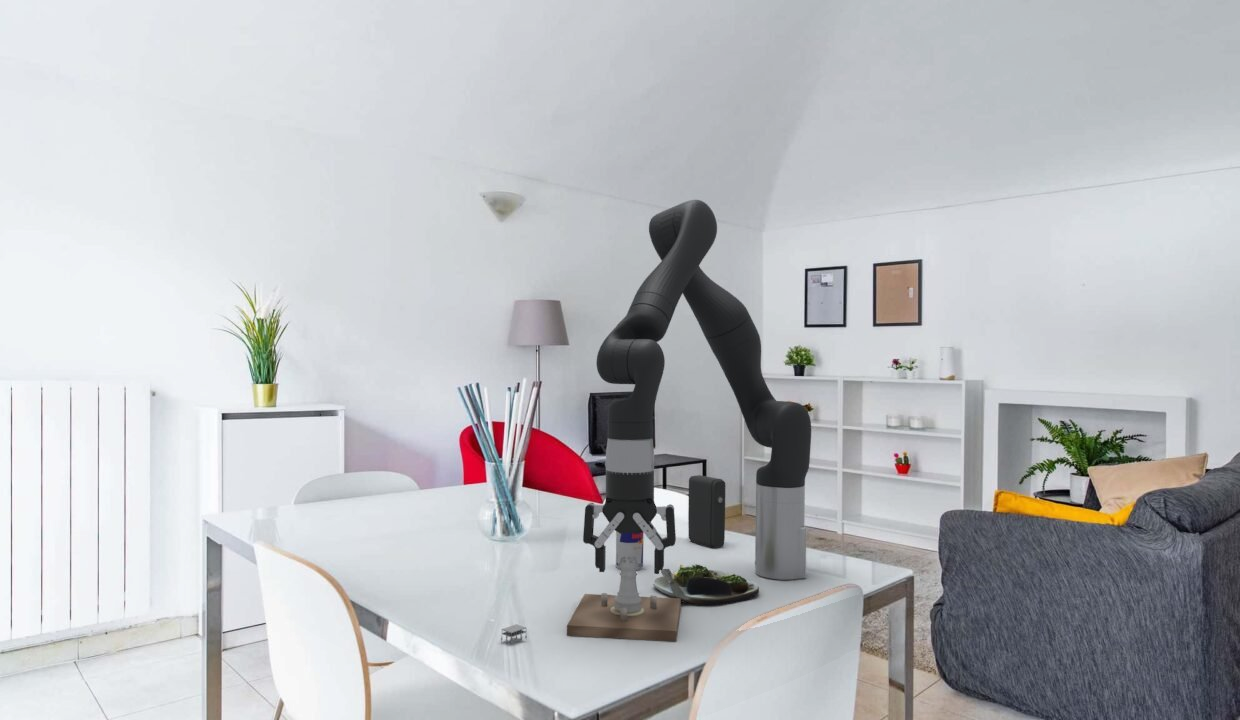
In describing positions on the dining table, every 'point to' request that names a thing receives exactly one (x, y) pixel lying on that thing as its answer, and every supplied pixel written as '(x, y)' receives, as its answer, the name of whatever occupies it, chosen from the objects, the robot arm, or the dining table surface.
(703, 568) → the salad plate
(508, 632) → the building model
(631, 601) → the rook chess piece
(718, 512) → the dark grey upright block
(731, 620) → the dining table surface
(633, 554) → the energy drink
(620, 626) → the pin board
